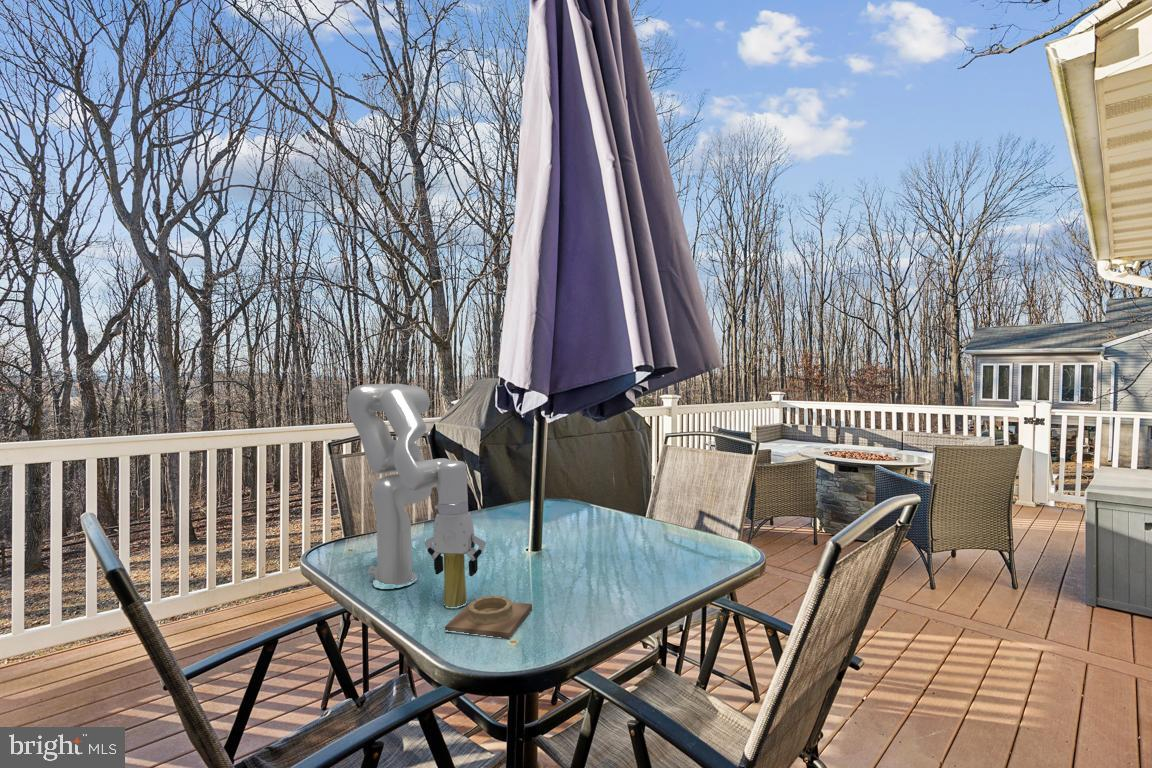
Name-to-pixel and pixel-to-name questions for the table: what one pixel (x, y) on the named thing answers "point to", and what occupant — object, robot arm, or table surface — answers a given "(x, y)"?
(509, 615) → the stand
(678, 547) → the table surface
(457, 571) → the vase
